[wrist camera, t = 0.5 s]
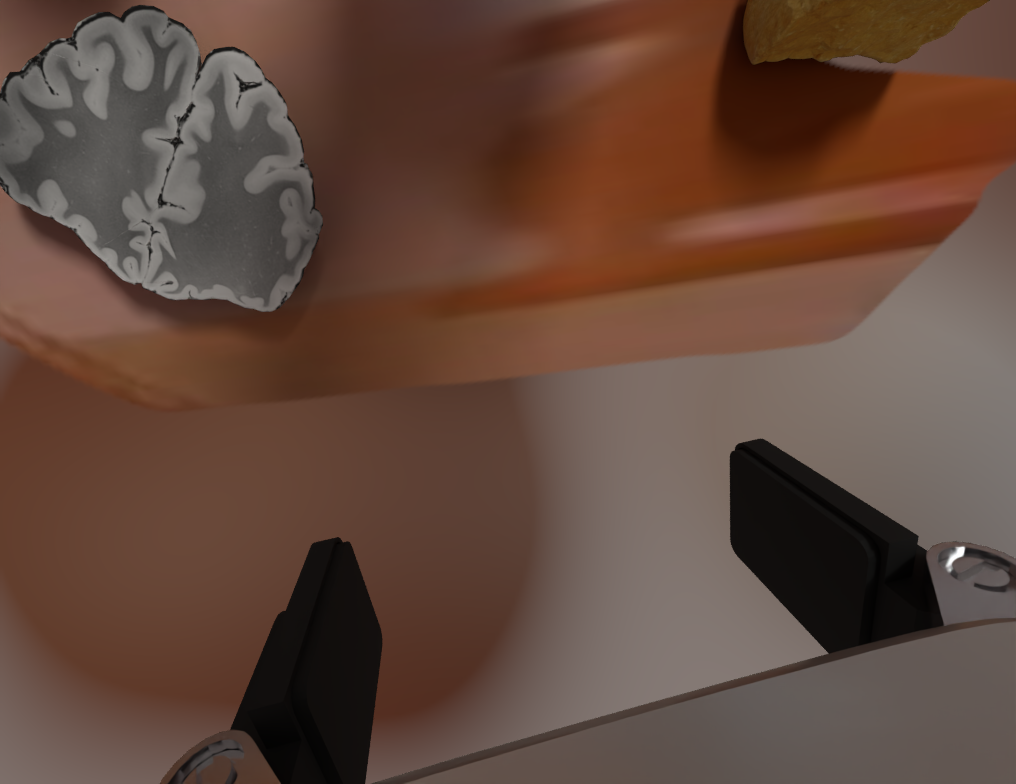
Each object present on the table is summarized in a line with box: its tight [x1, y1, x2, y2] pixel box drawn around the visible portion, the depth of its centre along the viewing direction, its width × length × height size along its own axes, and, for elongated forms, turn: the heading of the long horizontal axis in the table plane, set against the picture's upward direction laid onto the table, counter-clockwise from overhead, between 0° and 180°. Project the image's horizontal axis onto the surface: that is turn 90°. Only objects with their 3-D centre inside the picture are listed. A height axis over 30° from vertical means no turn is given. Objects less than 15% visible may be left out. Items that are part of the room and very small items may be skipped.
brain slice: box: [0, 5, 323, 312], centre depth 32 cm, size 20×17×3 cm
